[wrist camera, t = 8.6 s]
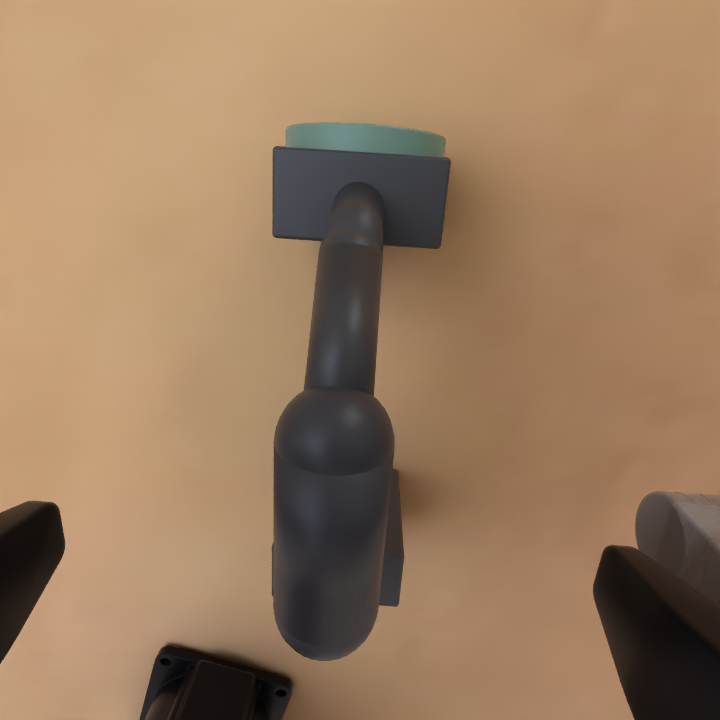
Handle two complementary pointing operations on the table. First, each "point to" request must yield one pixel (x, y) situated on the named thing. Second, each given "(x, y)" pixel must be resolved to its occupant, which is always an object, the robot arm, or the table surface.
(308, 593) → the headphones
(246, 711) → the robot arm
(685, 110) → the table surface
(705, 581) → the hook stand
